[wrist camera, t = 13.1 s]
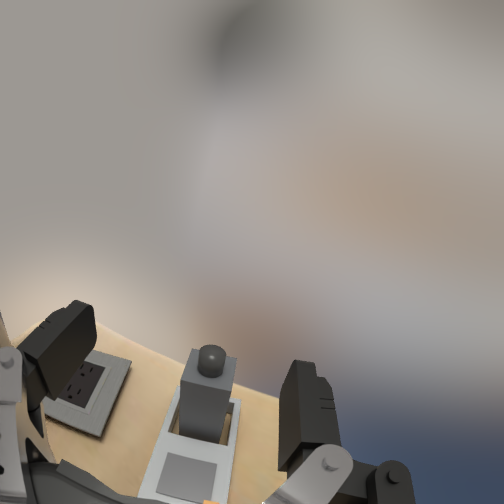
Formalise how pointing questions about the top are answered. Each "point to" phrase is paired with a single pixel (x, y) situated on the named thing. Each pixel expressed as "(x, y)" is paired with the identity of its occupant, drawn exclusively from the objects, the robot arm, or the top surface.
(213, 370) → the plug
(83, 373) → the electrical outlet
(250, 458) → the top surface
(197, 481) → the grey rectangular frame
